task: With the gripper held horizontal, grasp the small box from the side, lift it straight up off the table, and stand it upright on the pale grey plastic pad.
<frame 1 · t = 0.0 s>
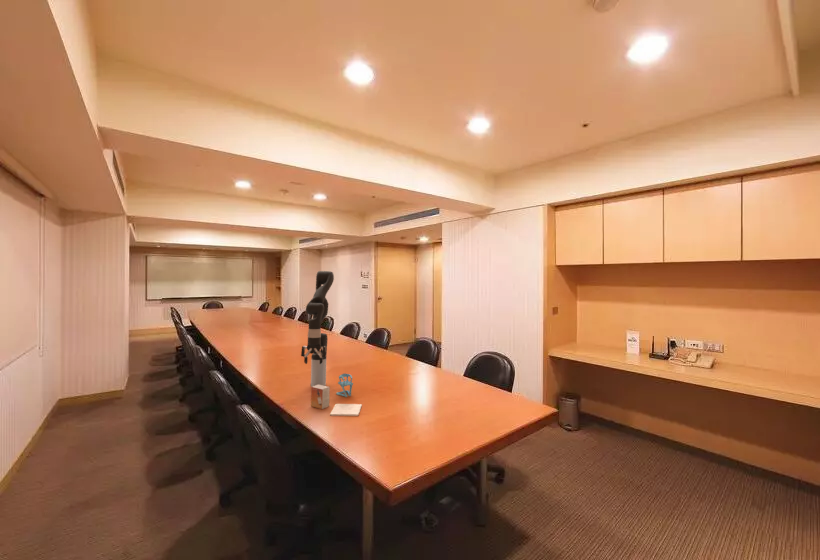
hand: (313, 363, 202), 17 cm above the table, tool pointing down, fingers open, 8 cm apart
small box: (320, 406, 180), on the table
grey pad: (346, 410, 175), on the table
chair: (345, 395, 199), on the table
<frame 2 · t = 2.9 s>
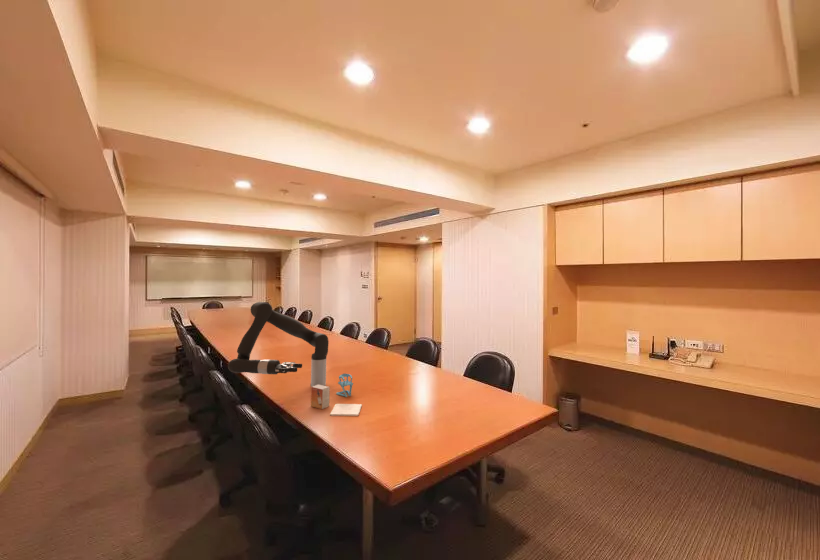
hand: (299, 367, 180), 20 cm above the table, tool horizontal, fingers open, 8 cm apart
nothing on the table moved.
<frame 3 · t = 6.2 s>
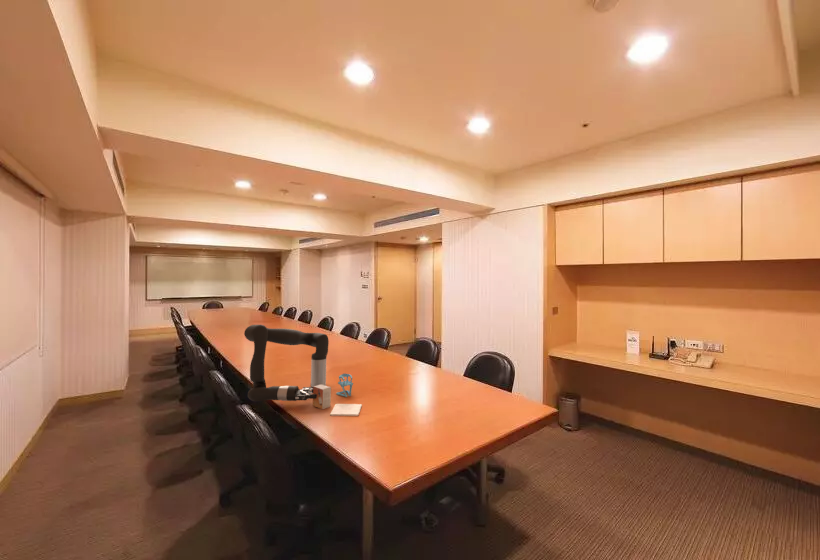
hand: (318, 393, 180), 7 cm above the table, tool horizontal, fingers open, 8 cm apart
small box: (321, 406, 180), on the table, touching gripper
everything else where it was.
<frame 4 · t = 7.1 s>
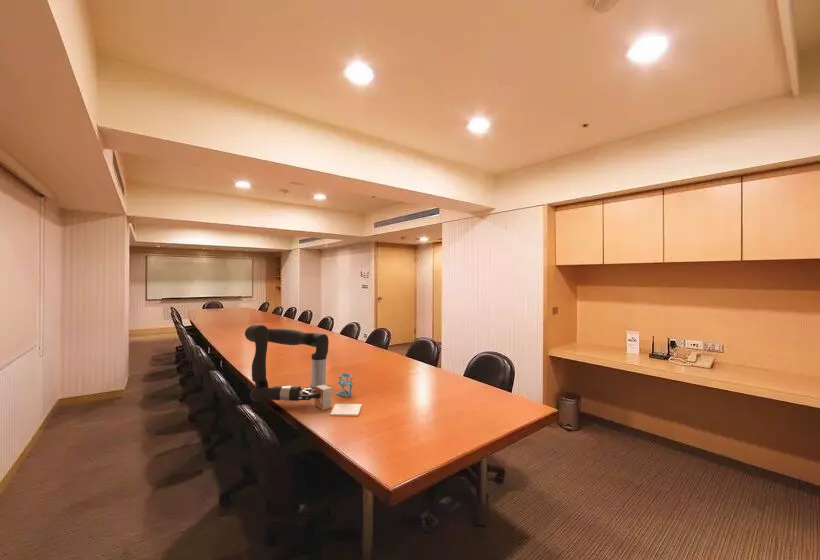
hand: (321, 393, 180), 7 cm above the table, tool horizontal, fingers closed on small box, 7 cm apart
small box: (323, 407, 180), on the table, touching gripper
everything else where it was.
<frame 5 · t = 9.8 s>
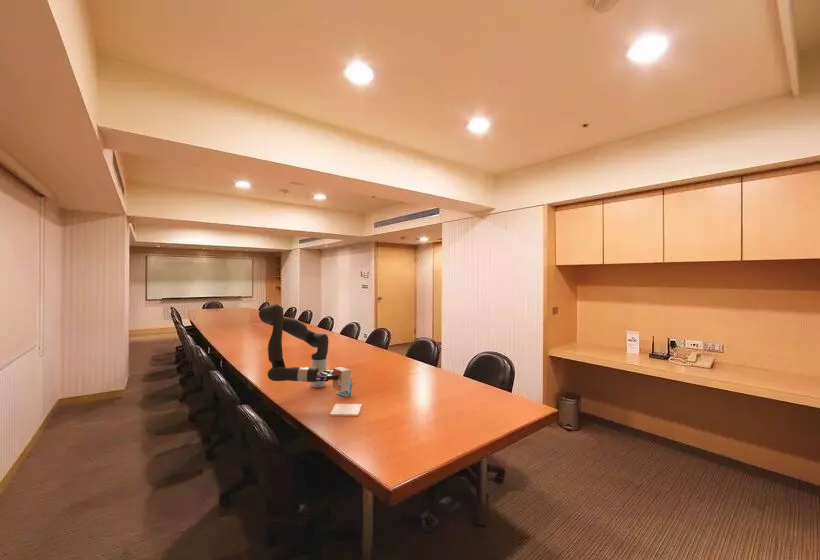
hand: (339, 375, 176), 18 cm above the table, tool horizontal, fingers closed on small box, 7 cm apart
small box: (341, 389, 175), point 11 cm above the table, touching gripper
everything else where it was.
when the fingers open (8 cm above the table, at t = 12.6 s): small box stays where it is, resting on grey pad.
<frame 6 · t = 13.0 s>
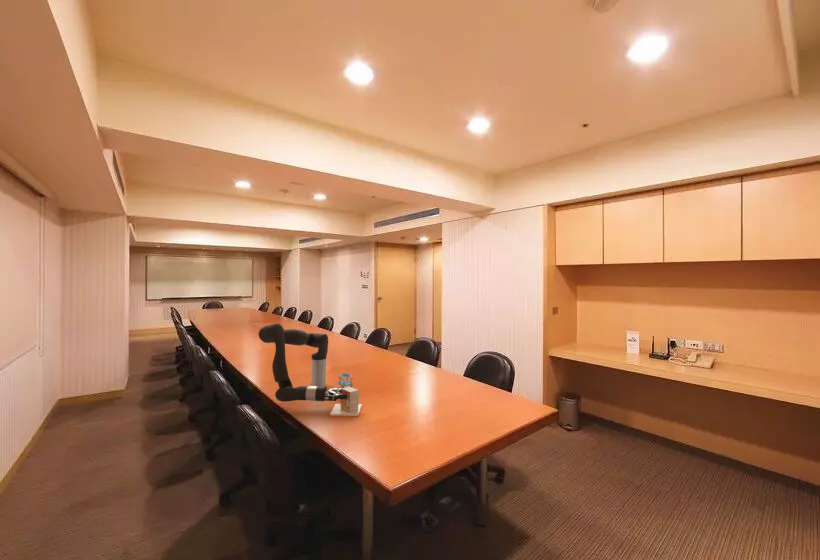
hand: (347, 394, 175), 8 cm above the table, tool horizontal, fingers open, 8 cm apart
small box: (349, 409, 174), point 1 cm above the table, touching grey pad
everything else where it was.
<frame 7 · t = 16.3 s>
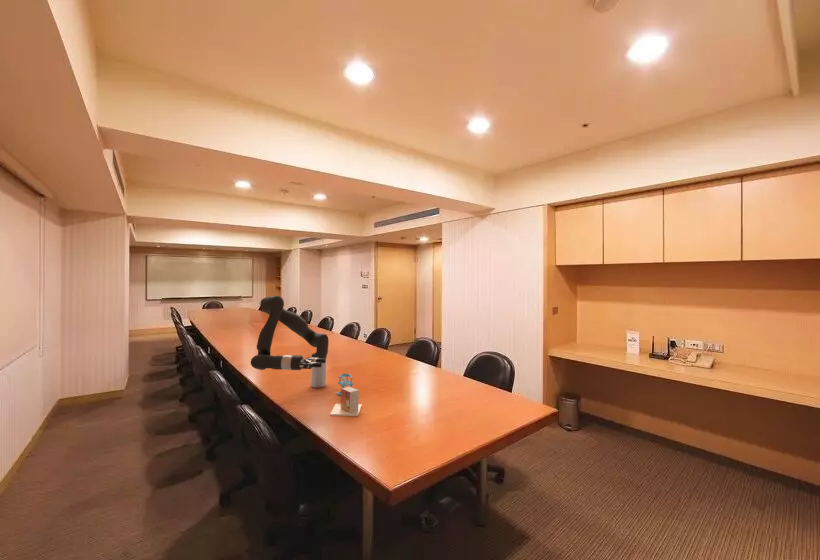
hand: (323, 362, 175), 24 cm above the table, tool horizontal, fingers open, 8 cm apart
nothing on the table moved.
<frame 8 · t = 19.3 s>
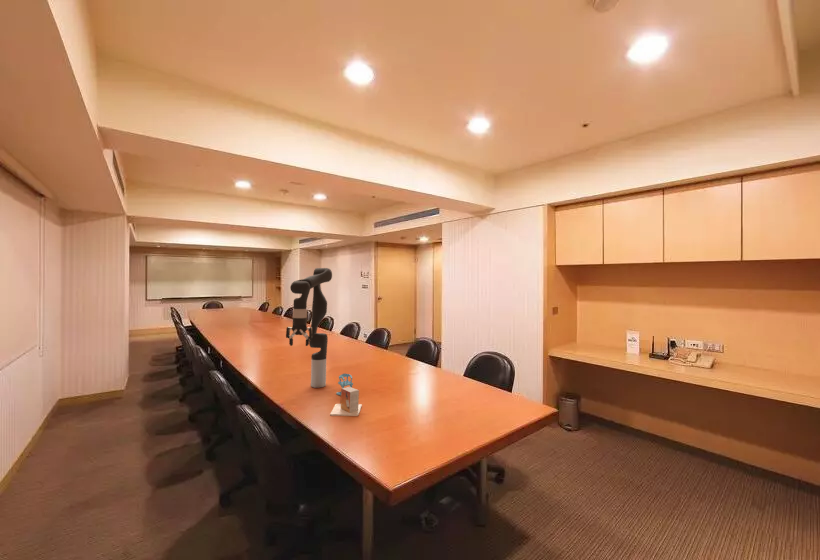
hand: (299, 345, 190), 30 cm above the table, tool pointing down, fingers open, 8 cm apart
nothing on the table moved.
at the end: small box inside the target area on the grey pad (1.8 cm from its centre), point 0.6 cm above the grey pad's base; small box tilted 0°; the gripper is holding nothing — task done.
